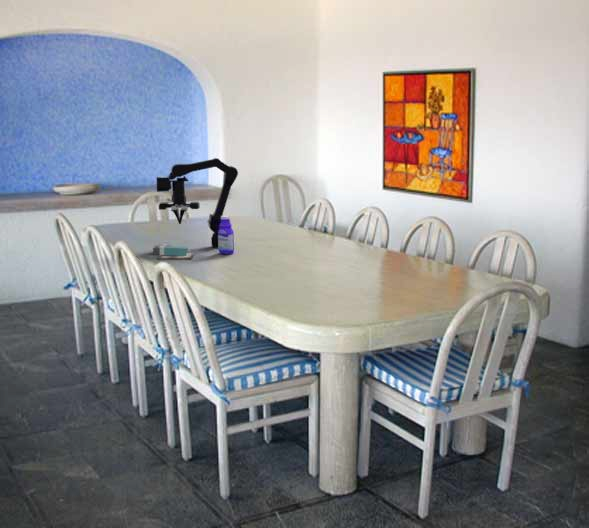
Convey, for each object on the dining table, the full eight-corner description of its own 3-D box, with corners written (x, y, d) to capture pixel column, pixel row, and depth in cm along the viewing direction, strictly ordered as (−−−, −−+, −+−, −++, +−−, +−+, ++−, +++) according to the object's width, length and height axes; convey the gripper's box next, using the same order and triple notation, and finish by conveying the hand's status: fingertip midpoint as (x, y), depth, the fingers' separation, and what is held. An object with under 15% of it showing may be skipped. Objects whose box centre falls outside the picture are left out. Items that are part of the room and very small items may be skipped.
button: (167, 249, 359) (166, 243, 359) (165, 251, 355) (165, 244, 355) (158, 249, 359) (158, 243, 359) (156, 251, 355) (156, 245, 355)
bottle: (216, 253, 354) (215, 216, 351) (223, 251, 359) (222, 214, 356) (229, 255, 351) (228, 217, 347) (236, 253, 356) (235, 215, 352)
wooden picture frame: (194, 254, 353) (194, 251, 353) (190, 259, 342) (190, 256, 342) (161, 254, 353) (161, 251, 353) (157, 259, 342) (156, 256, 342)
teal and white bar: (187, 254, 349) (187, 246, 348) (186, 255, 346) (186, 248, 345) (161, 253, 349) (161, 245, 348) (159, 254, 346) (159, 247, 345)
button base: (170, 251, 361) (170, 245, 360) (168, 254, 354) (168, 247, 353) (156, 251, 361) (155, 245, 360) (153, 254, 354) (152, 247, 353)
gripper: (200, 188, 371) (201, 220, 374) (161, 189, 371) (163, 221, 374) (197, 191, 360) (198, 224, 363) (157, 192, 360) (159, 225, 363)
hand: (180, 223), depth 366 cm, fingers closed
